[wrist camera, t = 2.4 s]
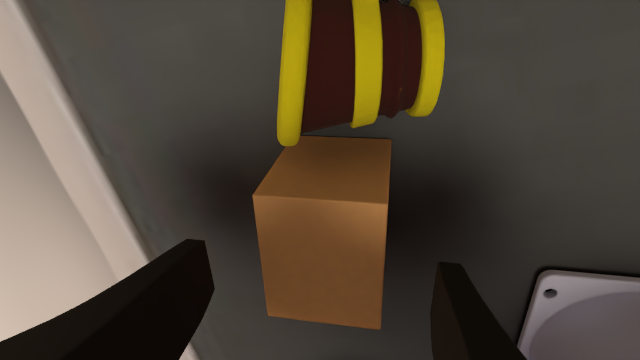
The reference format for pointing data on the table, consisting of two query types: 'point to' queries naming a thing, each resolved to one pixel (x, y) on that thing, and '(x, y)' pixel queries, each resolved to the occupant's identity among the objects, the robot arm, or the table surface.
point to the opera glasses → (357, 63)
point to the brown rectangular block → (325, 230)
